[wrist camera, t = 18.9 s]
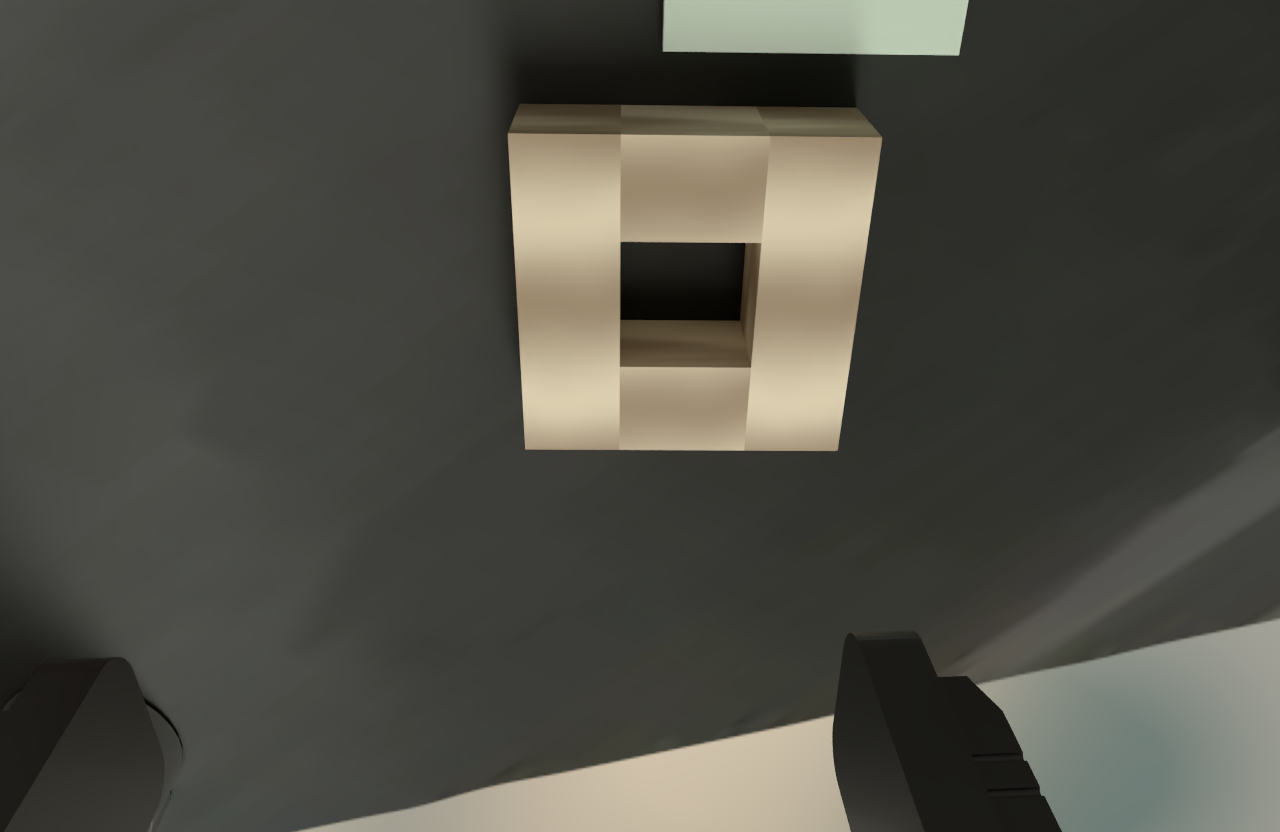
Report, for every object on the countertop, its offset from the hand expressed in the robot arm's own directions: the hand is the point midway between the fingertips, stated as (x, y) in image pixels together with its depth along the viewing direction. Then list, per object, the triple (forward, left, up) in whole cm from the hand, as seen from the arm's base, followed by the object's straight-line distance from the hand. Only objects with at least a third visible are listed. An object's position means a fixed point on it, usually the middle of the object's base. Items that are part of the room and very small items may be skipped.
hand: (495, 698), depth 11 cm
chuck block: (-6, -4, -27) cm, 28 cm away
